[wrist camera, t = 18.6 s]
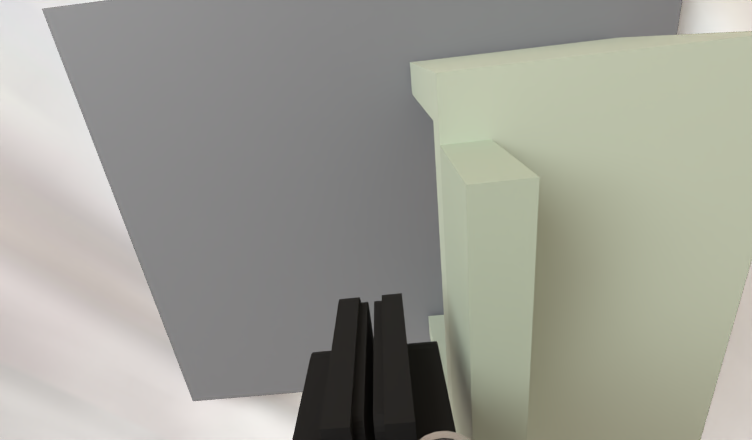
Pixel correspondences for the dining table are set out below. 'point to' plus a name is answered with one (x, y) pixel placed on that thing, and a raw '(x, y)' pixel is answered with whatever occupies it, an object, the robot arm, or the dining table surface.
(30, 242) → the dining table surface
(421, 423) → the robot arm
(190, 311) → the board
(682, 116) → the cover
